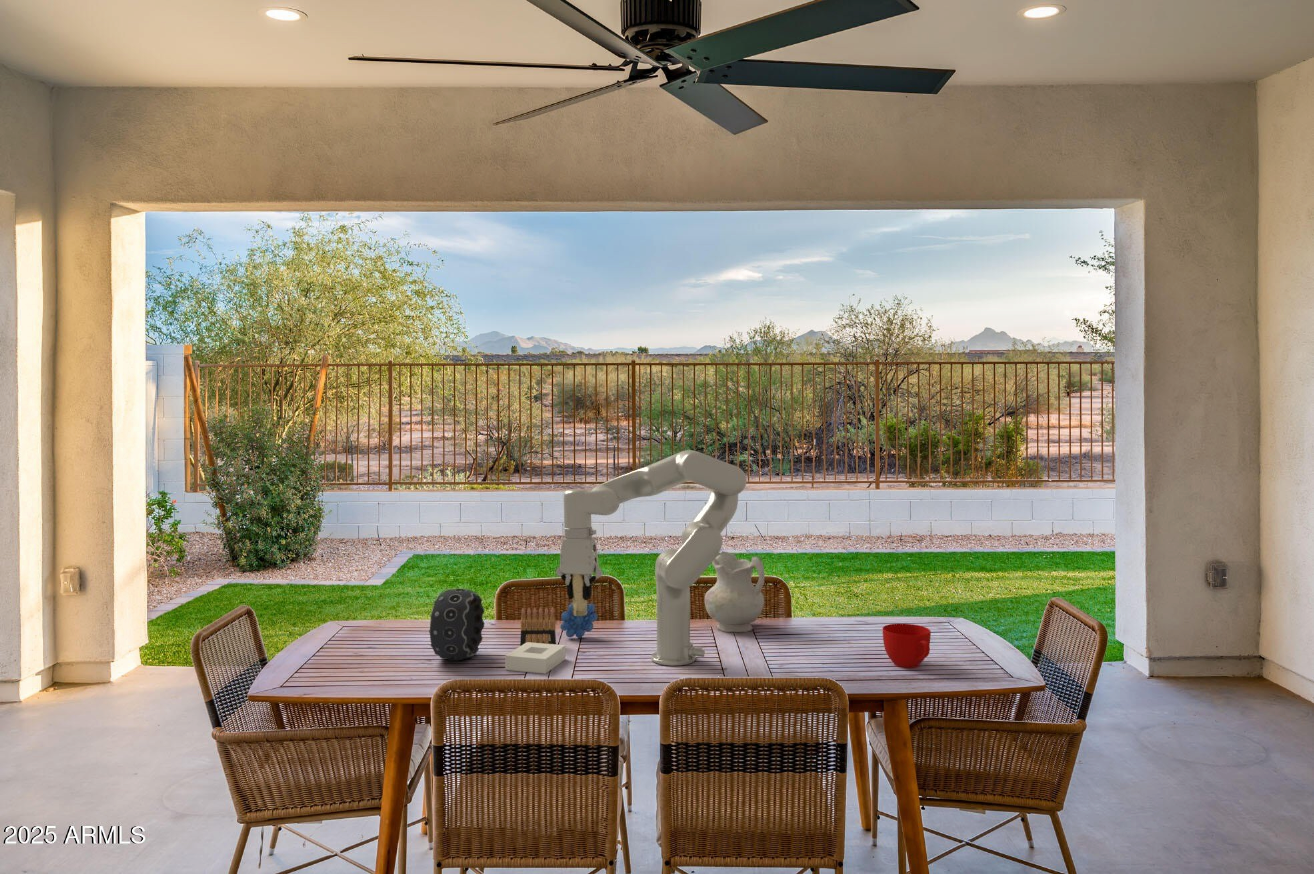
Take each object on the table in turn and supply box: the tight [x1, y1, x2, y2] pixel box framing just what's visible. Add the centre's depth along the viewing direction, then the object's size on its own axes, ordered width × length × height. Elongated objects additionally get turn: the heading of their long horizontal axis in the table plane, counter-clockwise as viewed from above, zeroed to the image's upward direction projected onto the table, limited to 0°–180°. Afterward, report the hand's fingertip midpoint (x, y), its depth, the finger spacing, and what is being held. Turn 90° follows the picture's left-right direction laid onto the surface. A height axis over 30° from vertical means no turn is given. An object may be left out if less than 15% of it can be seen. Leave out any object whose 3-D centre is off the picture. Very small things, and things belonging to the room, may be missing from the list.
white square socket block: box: [504, 641, 566, 674], centre depth 240 cm, size 12×14×4 cm
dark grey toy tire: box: [428, 588, 485, 661], centre depth 246 cm, size 11×20×20 cm, turn 174°
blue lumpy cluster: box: [560, 602, 598, 639], centre depth 269 cm, size 12×7×12 cm, turn 101°
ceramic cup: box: [882, 623, 932, 669], centre depth 238 cm, size 13×17×10 cm
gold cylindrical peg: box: [571, 574, 588, 616], centre depth 238 cm, size 4×4×12 cm
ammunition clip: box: [519, 606, 557, 647], centre depth 259 cm, size 11×2×12 cm, turn 92°
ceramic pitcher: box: [704, 551, 765, 633], centre depth 279 cm, size 22×20×25 cm
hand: (579, 598), depth 238 cm, fingers closed on gold cylindrical peg, 4 cm apart
